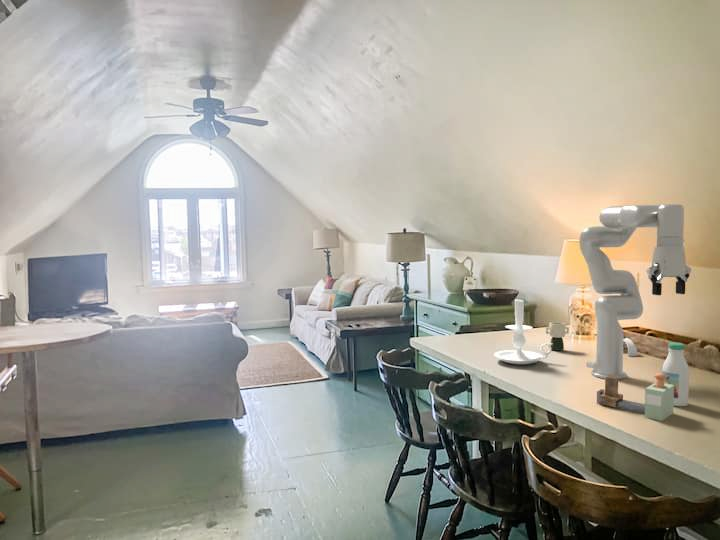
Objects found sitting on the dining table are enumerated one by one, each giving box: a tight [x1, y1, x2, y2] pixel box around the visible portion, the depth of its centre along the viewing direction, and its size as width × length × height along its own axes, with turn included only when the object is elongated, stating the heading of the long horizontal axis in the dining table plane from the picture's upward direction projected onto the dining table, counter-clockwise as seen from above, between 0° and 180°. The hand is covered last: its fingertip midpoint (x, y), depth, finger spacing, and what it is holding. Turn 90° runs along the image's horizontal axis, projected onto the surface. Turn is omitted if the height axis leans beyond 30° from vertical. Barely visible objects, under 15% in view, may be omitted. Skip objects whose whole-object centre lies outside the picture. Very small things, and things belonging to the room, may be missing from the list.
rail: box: [596, 389, 645, 415], centre depth 178 cm, size 16×4×4 cm, turn 44°
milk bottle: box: [661, 342, 690, 407], centre depth 181 cm, size 8×8×20 cm
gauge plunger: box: [654, 372, 666, 389], centre depth 170 cm, size 3×3×7 cm
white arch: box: [623, 337, 639, 357], centre depth 260 cm, size 24×12×7 cm, turn 8°
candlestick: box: [493, 298, 553, 365], centre depth 238 cm, size 21×25×28 cm
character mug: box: [545, 321, 570, 351], centre depth 262 cm, size 11×7×13 cm, turn 90°
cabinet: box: [644, 382, 674, 422], centre depth 170 cm, size 5×10×9 cm, turn 134°
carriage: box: [598, 375, 624, 408], centre depth 180 cm, size 5×6×9 cm
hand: (668, 294), depth 181 cm, fingers open, 9 cm apart
